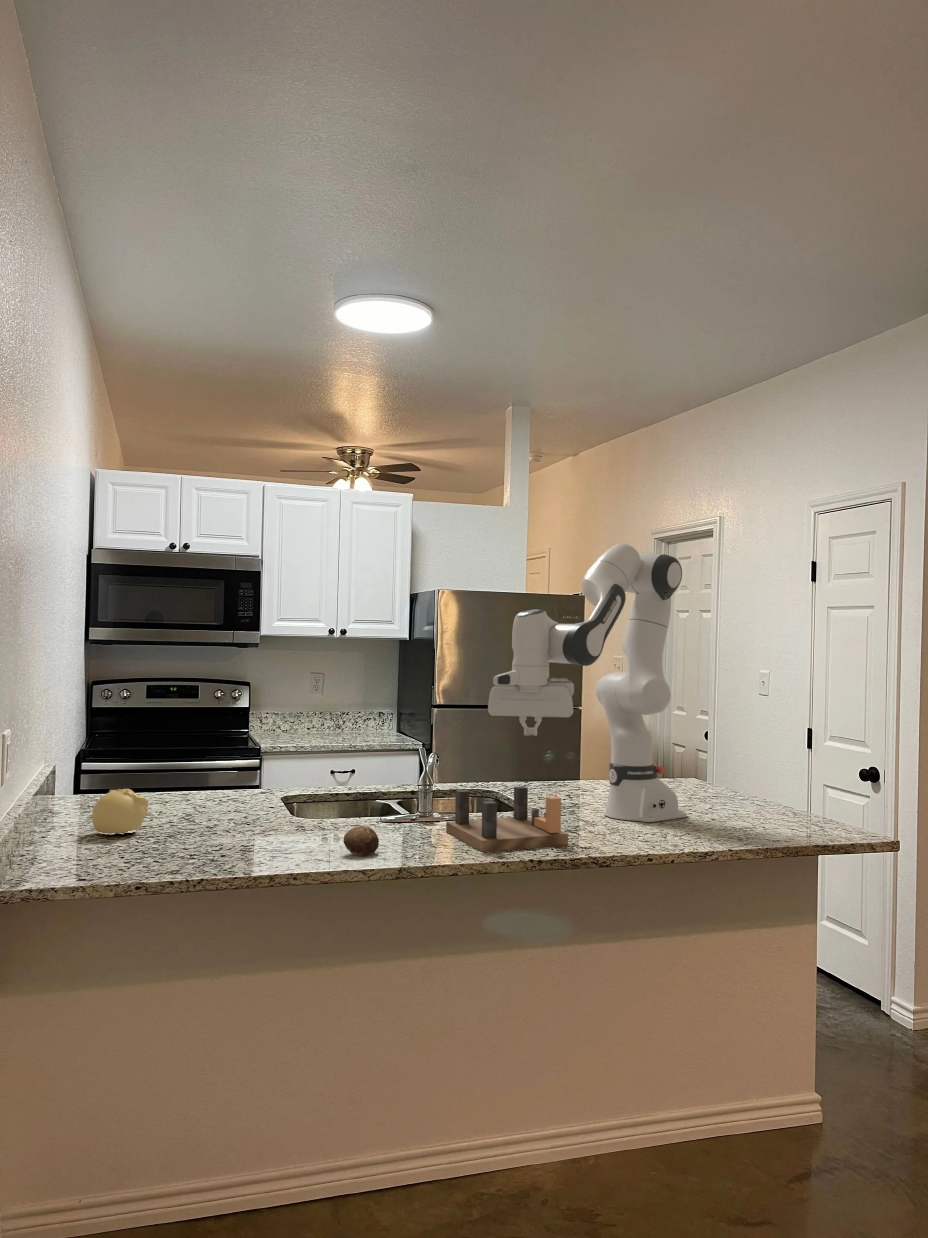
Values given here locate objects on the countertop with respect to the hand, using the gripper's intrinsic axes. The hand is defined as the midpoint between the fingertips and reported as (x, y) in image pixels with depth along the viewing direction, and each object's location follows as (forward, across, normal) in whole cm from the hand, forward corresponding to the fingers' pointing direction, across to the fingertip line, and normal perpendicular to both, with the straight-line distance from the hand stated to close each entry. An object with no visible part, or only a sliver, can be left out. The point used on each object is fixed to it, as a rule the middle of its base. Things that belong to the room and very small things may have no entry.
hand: (530, 735), depth 222 cm
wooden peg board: (+25, +6, -1) cm, 26 cm away
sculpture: (+24, +97, +21) cm, 102 cm away
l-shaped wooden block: (+22, -4, -1) cm, 23 cm away
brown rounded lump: (+25, +35, +23) cm, 48 cm away
